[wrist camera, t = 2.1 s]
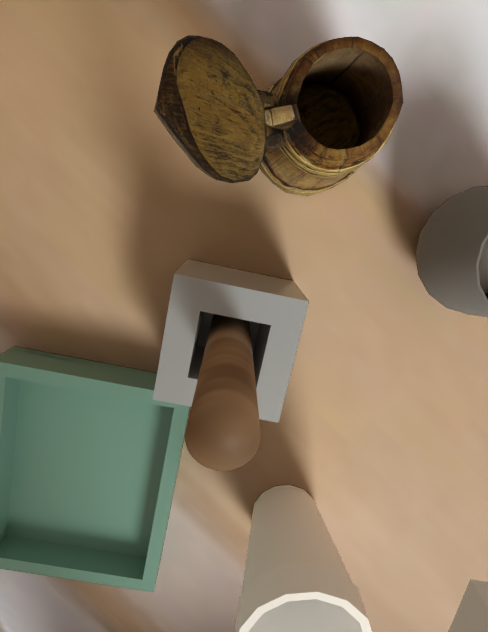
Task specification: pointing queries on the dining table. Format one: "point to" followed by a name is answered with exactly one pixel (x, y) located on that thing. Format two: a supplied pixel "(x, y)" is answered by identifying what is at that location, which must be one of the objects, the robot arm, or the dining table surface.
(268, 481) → the dining table surface
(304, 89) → the wooden mug
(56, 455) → the tray
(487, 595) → the robot arm
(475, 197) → the cup
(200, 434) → the dowel
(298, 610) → the foam cup
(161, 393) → the grey hollow square block
